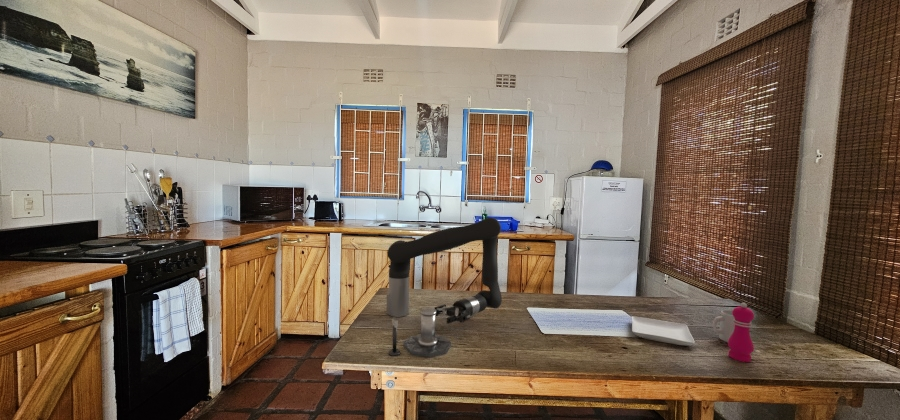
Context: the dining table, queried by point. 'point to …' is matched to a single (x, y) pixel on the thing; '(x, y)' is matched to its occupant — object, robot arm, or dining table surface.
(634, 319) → the salad plate
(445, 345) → the grey octagonal star trivet
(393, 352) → the stand
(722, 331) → the mug
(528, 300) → the dining table surface
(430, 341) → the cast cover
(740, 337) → the pepper mill
